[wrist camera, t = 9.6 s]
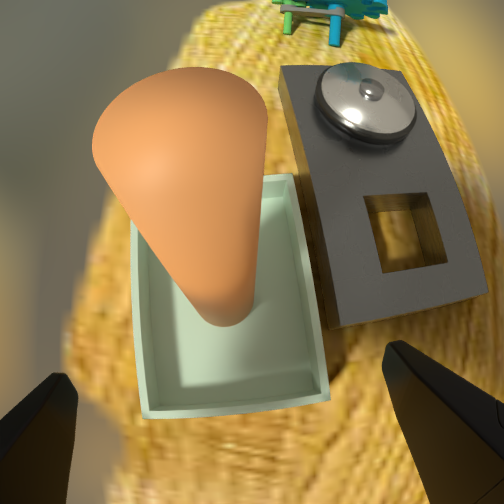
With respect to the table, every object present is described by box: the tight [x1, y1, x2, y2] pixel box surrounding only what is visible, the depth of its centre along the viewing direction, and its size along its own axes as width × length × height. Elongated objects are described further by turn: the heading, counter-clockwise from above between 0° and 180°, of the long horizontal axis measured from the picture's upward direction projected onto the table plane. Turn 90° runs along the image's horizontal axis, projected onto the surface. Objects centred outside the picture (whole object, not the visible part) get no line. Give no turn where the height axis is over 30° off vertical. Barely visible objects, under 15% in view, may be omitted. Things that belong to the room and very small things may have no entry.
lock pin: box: [92, 67, 268, 327], centre depth 11 cm, size 3×3×13 cm
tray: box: [131, 173, 331, 419], centre depth 17 cm, size 12×9×2 cm
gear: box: [272, 0, 388, 47], centre depth 24 cm, size 11×6×10 cm
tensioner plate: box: [278, 62, 488, 330], centre depth 18 cm, size 18×10×5 cm, turn 7°
